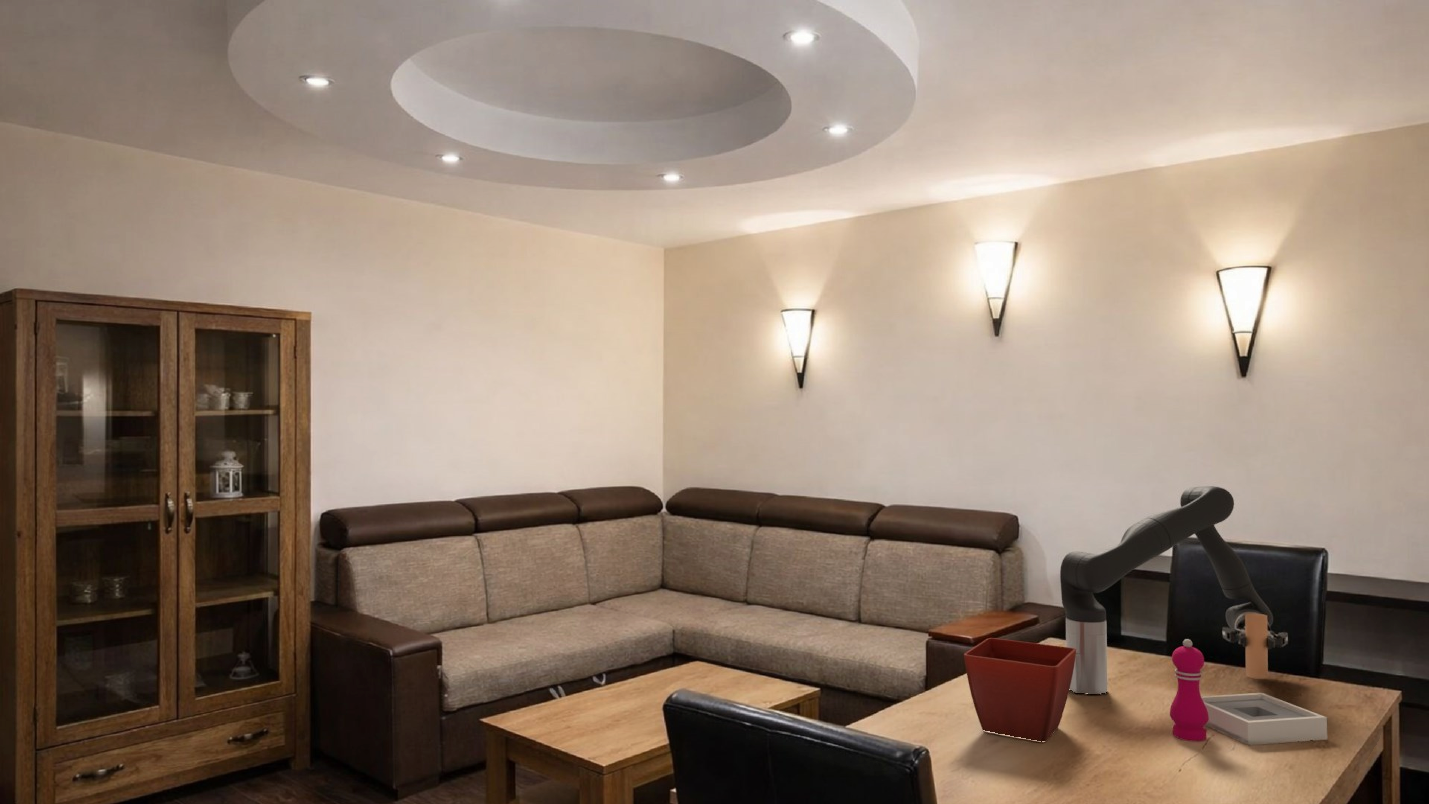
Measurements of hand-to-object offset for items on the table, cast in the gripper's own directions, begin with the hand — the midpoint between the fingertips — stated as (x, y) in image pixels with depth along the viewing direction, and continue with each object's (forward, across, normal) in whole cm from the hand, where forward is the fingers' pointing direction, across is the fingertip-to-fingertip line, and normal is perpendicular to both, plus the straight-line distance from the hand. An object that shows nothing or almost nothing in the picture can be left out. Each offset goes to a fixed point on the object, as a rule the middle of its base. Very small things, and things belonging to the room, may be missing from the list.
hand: (1257, 643), depth 215 cm
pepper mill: (+28, -14, +15) cm, 35 cm away
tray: (+17, -1, +15) cm, 22 cm away
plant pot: (+39, -46, +16) cm, 62 cm away
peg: (-3, 0, +8) cm, 8 cm away
